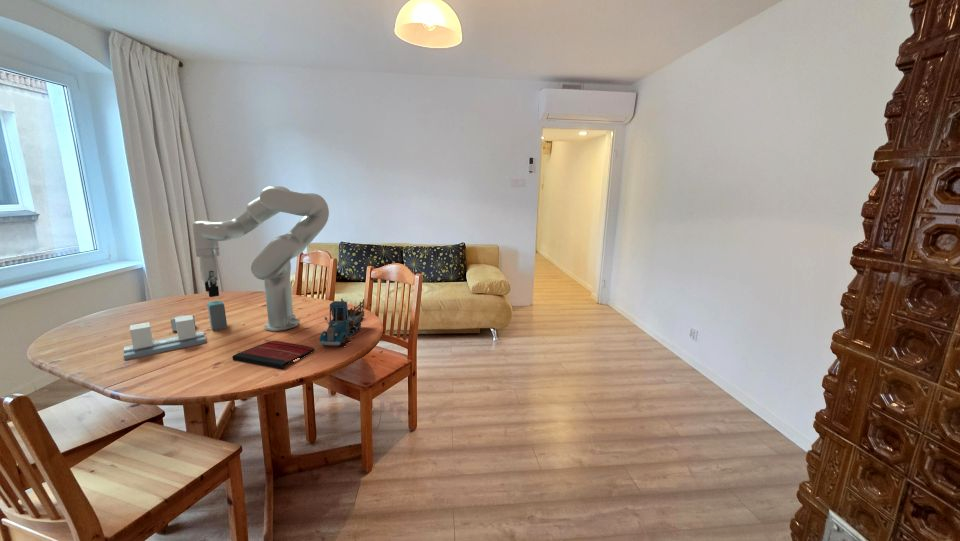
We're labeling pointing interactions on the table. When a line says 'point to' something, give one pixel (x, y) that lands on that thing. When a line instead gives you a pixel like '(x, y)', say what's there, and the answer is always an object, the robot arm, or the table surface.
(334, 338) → the toy truck
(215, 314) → the block
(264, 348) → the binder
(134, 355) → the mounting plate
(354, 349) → the table surface
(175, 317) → the power supply
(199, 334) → the din rail
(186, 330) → the mounted modules
